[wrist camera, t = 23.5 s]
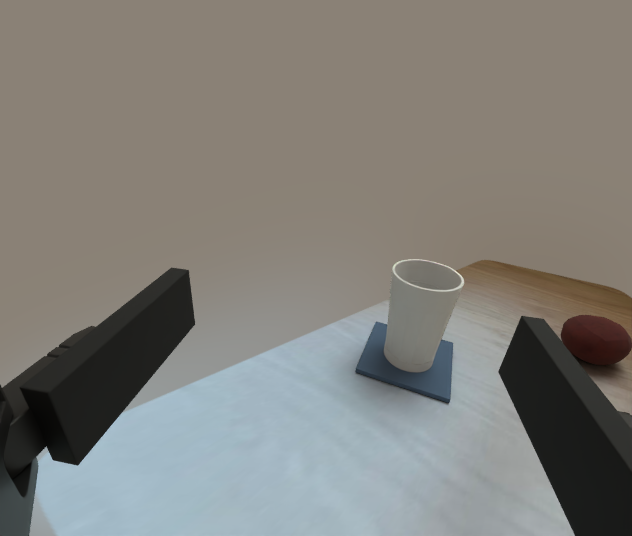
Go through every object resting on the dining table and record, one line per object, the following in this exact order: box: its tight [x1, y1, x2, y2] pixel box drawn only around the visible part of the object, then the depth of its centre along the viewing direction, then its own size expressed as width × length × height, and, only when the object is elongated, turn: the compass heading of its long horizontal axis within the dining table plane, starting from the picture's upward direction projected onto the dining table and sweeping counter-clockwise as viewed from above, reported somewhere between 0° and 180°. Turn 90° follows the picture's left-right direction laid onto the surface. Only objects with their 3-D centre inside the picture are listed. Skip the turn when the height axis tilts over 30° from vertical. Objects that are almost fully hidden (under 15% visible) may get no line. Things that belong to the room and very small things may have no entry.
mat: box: [356, 322, 453, 403], centre depth 43 cm, size 11×11×1 cm
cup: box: [384, 259, 464, 372], centre depth 40 cm, size 8×8×12 cm
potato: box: [561, 315, 632, 365], centre depth 45 cm, size 7×8×6 cm
